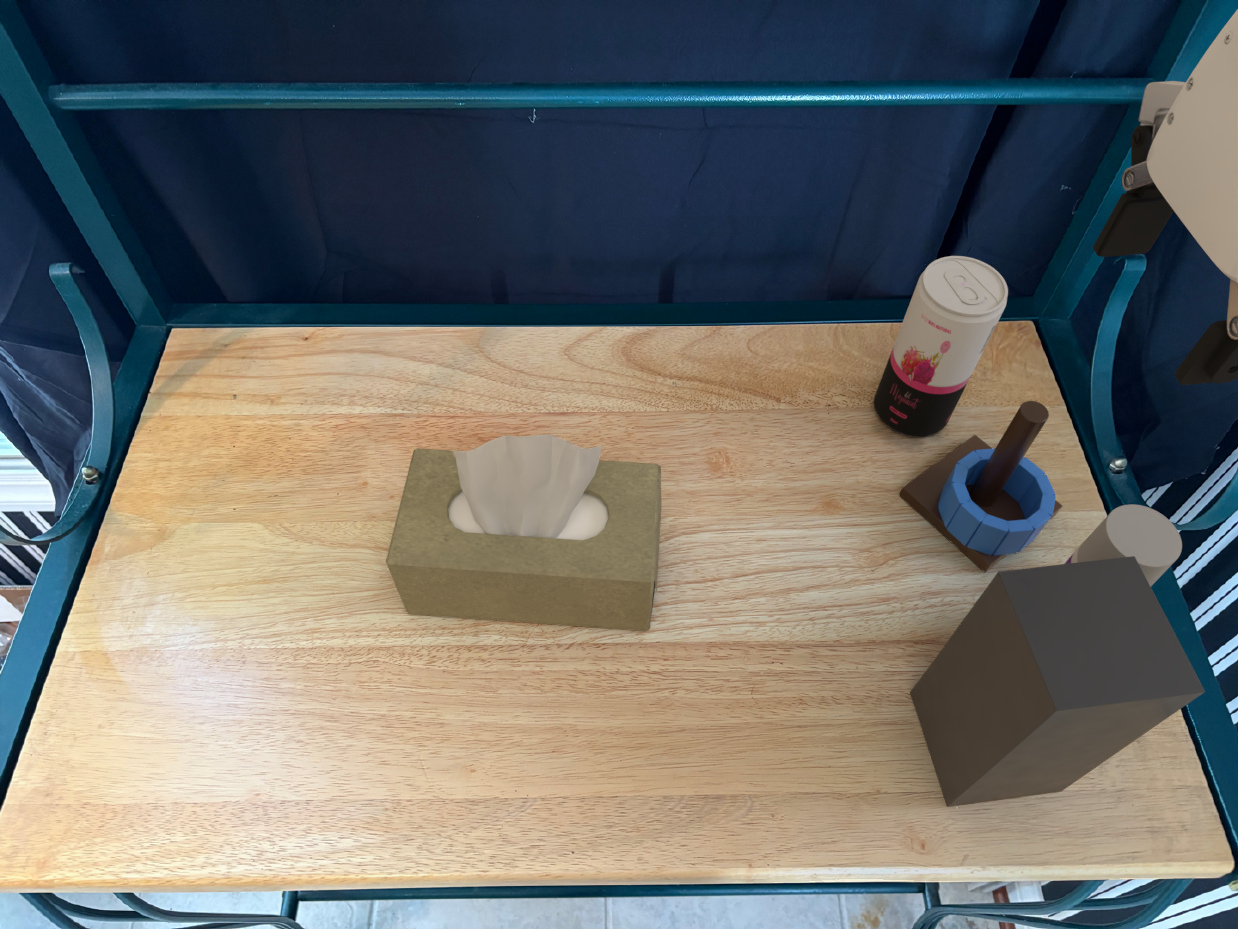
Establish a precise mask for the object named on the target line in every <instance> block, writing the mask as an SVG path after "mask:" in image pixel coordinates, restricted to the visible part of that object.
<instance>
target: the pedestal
mask: <svg viewBox="0 0 1238 929" xmlns="http://www.w3.org/2000/svg"><path fill="white" fill-rule="evenodd" d="M1159 602H1160V601H1158V598H1157V597H1156V594H1155V593H1154V590H1153V589H1152V586H1151V587H1150V585H1149V583H1148V581H1147V579H1146V577H1145V575H1144V573H1143V571H1142V569H1141V567H1140V566H1139V564H1138V562H1137V560H1136V558H1135V556H1131V557H1122V558H1113V559H1104V560H1096V561H1087V562H1078V563H1069V564H1065V563H1062V564H1061V563H1060V564H1054V565H1045V566H1035V567H1026V568H1017V569H1008V570H1001V571H997V573H996V574H995V575H994V577H993V578H992V579H991V581H990V582H989V584H988V585H987V586H986V588H985V589H984V590H983V592H982V593H981V595H980V596H979V597H978V599H977V600H976V601H975V603H974V604H973V606H972V607H971V608H970V610H969V611H968V612H967V614H966V615H965V617H964V618H963V619H962V620H961V622H960V624H959V625H958V626H957V628H956V629H955V630H954V631H953V633H952V634H951V635H950V637H949V638H948V640H947V641H946V642H945V644H944V645H943V647H942V648H941V649H940V650H939V652H938V653H937V655H936V656H935V657H934V659H933V660H932V662H931V663H930V664H929V666H928V667H927V668H926V669H925V671H924V672H923V674H922V675H921V677H920V678H919V679H918V680H917V682H916V683H915V685H914V686H913V688H912V689H910V692H909V693H910V697H911V700H912V703H913V707H914V709H915V712H916V715H917V718H918V722H919V726H920V728H921V730H922V733H923V737H924V741H925V743H926V746H927V750H928V752H929V755H930V758H931V761H932V764H933V767H934V771H935V774H936V777H937V779H938V782H939V785H940V789H941V792H942V796H943V798H944V801H945V804H946V807H947V808H949V807H951V808H952V807H956V806H957V807H958V806H965V805H973V804H979V803H987V802H994V801H1002V800H1008V799H1009V800H1010V799H1017V798H1023V797H1030V796H1038V795H1046V794H1053V793H1061V792H1063V791H1064V790H1066V789H1067V788H1069V787H1070V786H1071V785H1073V784H1075V783H1076V782H1077V781H1079V780H1080V779H1082V778H1083V777H1084V776H1086V775H1087V774H1089V773H1091V771H1093V770H1095V769H1096V768H1097V767H1099V766H1100V765H1102V764H1104V763H1105V762H1106V761H1108V760H1110V758H1112V757H1113V756H1115V755H1117V754H1118V753H1119V752H1120V751H1122V750H1124V749H1125V748H1126V747H1128V746H1129V745H1130V744H1132V743H1134V742H1135V741H1136V740H1138V739H1140V738H1141V737H1142V736H1144V735H1145V734H1146V733H1148V732H1150V731H1151V730H1152V729H1154V728H1155V727H1157V726H1158V725H1159V724H1161V723H1162V722H1164V721H1165V720H1168V718H1170V717H1171V716H1173V715H1174V714H1176V713H1177V712H1178V711H1180V710H1181V709H1182V708H1184V707H1185V706H1187V705H1189V704H1190V703H1191V702H1193V701H1195V699H1197V698H1198V697H1200V696H1201V695H1203V694H1204V693H1206V691H1205V688H1204V687H1203V684H1202V683H1201V681H1200V679H1199V677H1198V675H1197V673H1196V671H1195V669H1194V667H1193V665H1192V664H1191V661H1190V660H1189V658H1188V655H1187V654H1186V652H1185V650H1184V648H1183V646H1182V645H1181V642H1180V640H1179V639H1178V637H1177V635H1176V633H1175V631H1174V629H1173V627H1172V625H1171V623H1170V622H1169V619H1168V617H1167V615H1166V614H1165V611H1164V610H1163V608H1162V606H1161V603H1159Z"/></svg>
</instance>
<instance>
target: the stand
mask: <svg viewBox="0 0 1238 929" xmlns="http://www.w3.org/2000/svg"><path fill="white" fill-rule="evenodd" d="M1049 416H1050V414H1049V410H1048V408H1047V407H1046V406H1045V405H1044V404H1042V403H1041V402H1038V401H1036V400H1026V401H1024V402H1022V403H1021V404H1020V407H1018V409H1017V411H1016V413H1015V414H1014V416H1013V418H1012V419H1011V421H1010V423H1009V424H1008V426H1007V428H1006V429H1005V431H1004V433H1003V434H1002V436H1001V438H1000V440H999V442H998V443H997V445H996V446H995V450H994V452H993V453H992V455H991V457H990V458H989V460H988V462H987V464H986V465H985V467H984V469H983V470H982V472H981V474H980V475H979V477H978V479H977V480H976V482H975V484H972V485H966V488H967V491H968V493H969V496H970V498H971V500H972V501H973V502H974V503H975V504H976V505H977V506H978V507H980V508H981V509H982V510H983V511H984V512H985V513H986V514H989V515H991V516H994V517H997V518H1000V519H1003V520H1006V521H1013V520H1024V519H1025V516H1024V514H1023V512H1022V509H1021V507H1020V505H1019V503H1018V502H1017V501H1016V500H1015V499H1014V498H1013V497H1011V496H1010V495H1009V494H1008V493H1007V492H1006V491H1004V490H1003V488H1004V486H1005V485H1006V483H1007V482H1008V480H1009V479H1010V477H1011V475H1012V474H1013V472H1014V471H1015V469H1016V468H1017V466H1018V465H1019V463H1020V461H1021V460H1022V458H1023V457H1024V458H1025V455H1026V454H1027V452H1028V451H1029V449H1030V447H1031V446H1032V444H1033V442H1034V441H1035V439H1036V438H1037V437H1038V435H1039V433H1040V431H1041V430H1042V429H1043V427H1044V425H1045V424H1046V423H1047V421H1048V419H1049V418H1050V417H1049ZM982 449H993V447H991V446H990V445H989V444H987V443H986V442H985V441H984V440H982V439H981V438H980V437H979V436H978V435H977V434H973V435H972V436H971V437H969V438H968V439H967V440H965V441H964V442H962V443H961V444H960V445H958V446H957V447H955V448H954V449H953V450H951V451H950V452H948V453H947V454H945V456H943V457H942V458H940V459H939V460H937V461H936V462H935V463H933V465H931V466H930V467H928V468H927V469H925V470H924V471H923V472H922V473H920V474H919V475H918V476H915V478H913V479H912V480H911V481H910V482H908V483H906V484H905V485H904V486H902V487H901V490H900V492H899V494H898V496H899V498H901V499H902V500H903V501H904V502H906V504H908V505H909V506H910V507H911V508H912V509H913V510H914V511H916V512H917V513H918V514H919V515H920V516H921V517H922V518H923V519H924V520H925V521H927V522H928V524H930V525H931V526H932V527H933V528H935V530H937V532H939V533H940V534H941V535H942V536H944V537H945V539H947V540H948V541H949V542H950V543H951V544H952V545H953V546H955V547H956V548H957V549H958V550H959V551H960V552H961V553H963V554H964V555H965V556H966V557H967V558H968V559H969V560H970V561H972V563H974V564H975V565H976V566H977V567H978V568H979V569H980V570H981V571H983V573H987V572H988V571H989V570H991V568H993V567H994V566H995V565H997V564H998V563H999V562H1000V561H1001V560H1002V559H1004V558H1005V557H1006V556H1008V554H1006V555H996V556H993V554H992V555H988V554H985V553H982V552H979V551H976V550H973V549H971V548H968V547H967V545H966V546H964V545H963V544H962V543H961V542H960V541H959V540H958V539H957V538H955V537H954V536H953V535H952V534H951V533H950V532H949V531H948V530H947V528H946V527H945V525H944V522H943V520H942V517H941V514H940V512H939V509H938V507H939V506H938V504H939V500H940V496H941V493H942V489H943V487H944V485H945V483H946V482H947V480H948V478H949V476H950V474H951V472H952V471H953V469H954V467H955V465H956V464H957V462H958V461H959V460H961V459H962V458H964V457H965V456H966V455H968V454H969V453H971V452H972V451H975V450H982ZM1062 508H1063V504H1062V503H1060V502H1059V501H1057V499H1055V505H1054V510H1053V515H1052V516H1051V518H1050V520H1051V519H1052V518H1054V517H1055V516H1056V515H1058V513H1059V512H1060V510H1061V509H1062Z"/></svg>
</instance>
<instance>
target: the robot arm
mask: <svg viewBox="0 0 1238 929" xmlns="http://www.w3.org/2000/svg"><path fill="white" fill-rule="evenodd" d="M1137 120H1138V122H1139V123H1140V124H1139V125H1137V126H1136V127H1135V128H1134V130H1133V131H1132V133H1131V137H1130V138H1131V139H1130V140H1131V141H1130V149H1131V150H1130V166H1129V167H1127V168H1125V170H1124V171H1123V172H1122V175H1121V186H1122V189H1123V190H1124V191H1126V192H1125V193H1121V195H1120V197H1119V199H1118V201H1117V202H1116V203H1115V207H1113V209H1112V211H1111V213H1110V215H1109V217H1108V219H1107V221H1106V223H1105V224H1104V226H1103V228H1102V230H1101V232H1100V233H1099V234H1098V237H1097V239H1096V240H1095V242H1094V244H1093V246H1092V250H1093V251H1094V253H1095V254H1096V256H1097V257H1101V258H1108V257H1122V256H1134V255H1144V254H1146V253H1148V252H1149V251H1150V250H1151V249H1152V247H1153V246H1154V245H1155V242H1156V241H1157V240H1158V238H1159V236H1160V234H1161V233H1162V232H1163V230H1164V228H1165V226H1166V225H1167V223H1168V222H1169V220H1170V219H1171V217H1172V215H1173V213H1175V214H1176V216H1177V217H1178V218H1179V220H1180V221H1181V223H1182V224H1183V225H1184V226H1185V228H1186V230H1188V232H1189V233H1190V234H1191V235H1192V237H1193V238H1194V240H1195V241H1196V242H1197V244H1198V245H1199V246H1200V247H1201V249H1202V250H1203V252H1205V254H1206V255H1207V256H1208V258H1209V259H1210V260H1211V261H1212V262H1213V264H1214V265H1215V266H1216V267H1217V268H1218V269H1219V271H1221V272H1222V273H1223V274H1224V276H1226V277H1227V278H1228V279H1230V280H1229V291H1228V292H1229V293H1228V303H1227V313H1226V314H1227V315H1226V319H1225V320H1216V321H1215V322H1213V323H1211V324H1210V325H1209V326H1208V328H1207V329H1206V330H1205V331H1204V333H1203V334H1202V335H1201V336H1200V338H1199V340H1198V341H1197V342H1196V343H1195V345H1194V346H1193V347H1192V349H1191V350H1189V352H1188V354H1187V355H1186V357H1185V358H1184V359H1183V361H1182V362H1181V363H1180V365H1179V366H1178V367H1177V369H1176V370H1175V374H1174V377H1175V378H1176V380H1177V382H1178V383H1179V385H1181V386H1188V385H1199V384H1200V385H1201V384H1210V383H1213V384H1226V383H1231V382H1234V381H1235V380H1237V379H1238V8H1237V9H1236V10H1235V12H1234V13H1233V14H1232V16H1231V17H1230V18H1229V20H1228V21H1227V22H1226V24H1224V26H1223V27H1222V29H1221V30H1220V31H1219V33H1218V34H1217V35H1216V37H1215V38H1214V40H1213V41H1212V42H1211V43H1210V45H1209V47H1208V48H1207V50H1206V51H1205V53H1204V54H1203V55H1202V57H1201V58H1200V59H1199V61H1198V63H1197V65H1196V66H1195V67H1194V69H1193V70H1192V72H1191V73H1190V75H1189V77H1188V78H1187V80H1186V82H1185V81H1177V80H1168V81H1152V82H1149V83H1147V85H1146V86H1145V88H1144V91H1143V95H1142V100H1141V104H1140V110H1139V115H1138V119H1137Z"/></svg>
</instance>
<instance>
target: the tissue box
mask: <svg viewBox="0 0 1238 929" xmlns="http://www.w3.org/2000/svg"><path fill="white" fill-rule="evenodd" d="M603 446H604V445H598V446H593V447H589V448H585V447H581V446H578V445H576V444H575V443H572V442H571V441H568V440H567V439H564V438H562V437H558V436H556V435H554V434H544V433H543V434H534V435H533V434H532V435H508V434H505V435H501V436H498V437H496V438H493V439H490V440H488V441H486V442H485V443H483V444H481V445H479V446H477V447H475V448H472V449H469V450H456V449H434V448H433V449H431V448H420V447H419V448H415V449H413V451H412V456H411V459H410V463H409V467H408V471H407V474H406V479H405V483H404V487H403V491H402V495H401V499H400V503H399V507H398V511H397V515H396V518H395V523H394V527H393V531H392V535H391V539H390V543H389V546H388V551H387V555H386V559H385V563H386V565H387V568H388V570H389V573H390V575H391V577H392V580H393V582H394V585H395V587H396V590H397V592H398V595H399V598H400V599H401V602H402V604H403V607H404V609H405V611H406V613H407V615H413V616H414V615H415V616H416V615H417V616H430V617H444V618H458V619H472V620H485V621H499V622H514V623H515V622H516V623H527V624H528V623H529V624H542V625H558V626H571V627H572V626H573V627H584V628H597V629H598V628H599V629H614V630H627V631H640V632H641V631H642V632H647V631H649V630H650V629H651V622H652V614H653V607H654V599H655V592H658V580H659V579H658V578H659V558H660V540H661V524H662V523H661V522H662V471H661V470H662V466H661V465H660V464H658V463H648V462H633V461H619V460H617V461H616V460H603V459H601V455H602V451H603Z"/></svg>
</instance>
